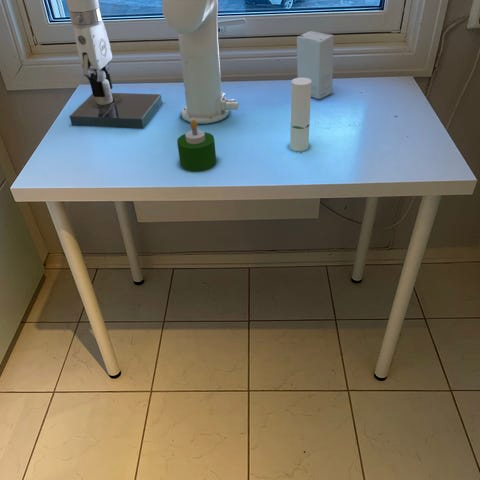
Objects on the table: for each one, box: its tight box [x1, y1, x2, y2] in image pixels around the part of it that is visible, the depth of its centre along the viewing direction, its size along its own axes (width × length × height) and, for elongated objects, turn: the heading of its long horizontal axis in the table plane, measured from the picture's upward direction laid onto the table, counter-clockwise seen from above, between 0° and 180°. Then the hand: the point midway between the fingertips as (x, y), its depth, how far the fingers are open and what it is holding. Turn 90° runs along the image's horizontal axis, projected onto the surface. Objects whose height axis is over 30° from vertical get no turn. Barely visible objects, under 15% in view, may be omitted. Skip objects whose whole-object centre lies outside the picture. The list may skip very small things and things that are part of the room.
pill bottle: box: [91, 70, 113, 105], centre depth 139 cm, size 4×4×8 cm
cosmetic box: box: [296, 30, 335, 100], centre depth 139 cm, size 8×6×15 cm
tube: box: [289, 77, 312, 152], centre depth 117 cm, size 4×4×15 cm
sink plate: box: [69, 92, 163, 129], centre depth 140 cm, size 20×16×2 cm
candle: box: [176, 120, 217, 172], centre depth 116 cm, size 8×8×10 cm
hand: (103, 91), depth 140 cm, fingers closed on pill bottle, 4 cm apart
